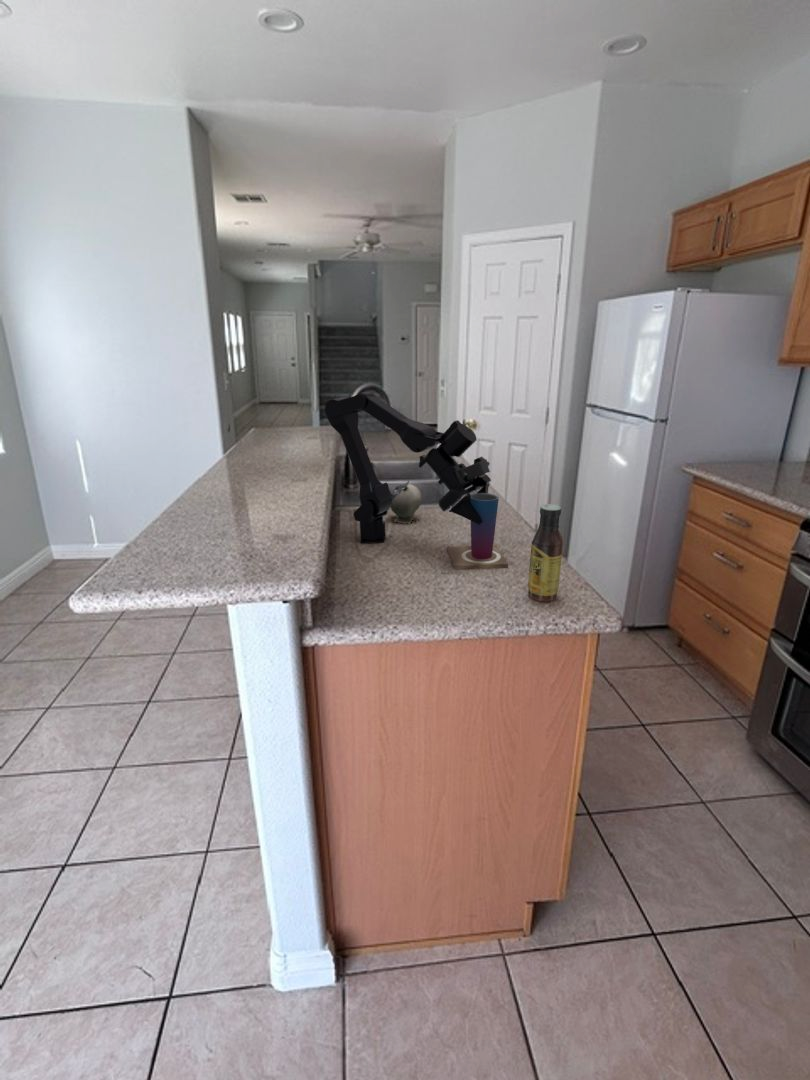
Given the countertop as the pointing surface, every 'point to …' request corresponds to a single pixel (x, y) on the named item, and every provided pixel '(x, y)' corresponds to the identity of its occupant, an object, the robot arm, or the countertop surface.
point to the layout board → (475, 559)
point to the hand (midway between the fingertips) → (487, 518)
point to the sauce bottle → (546, 556)
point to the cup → (483, 524)
